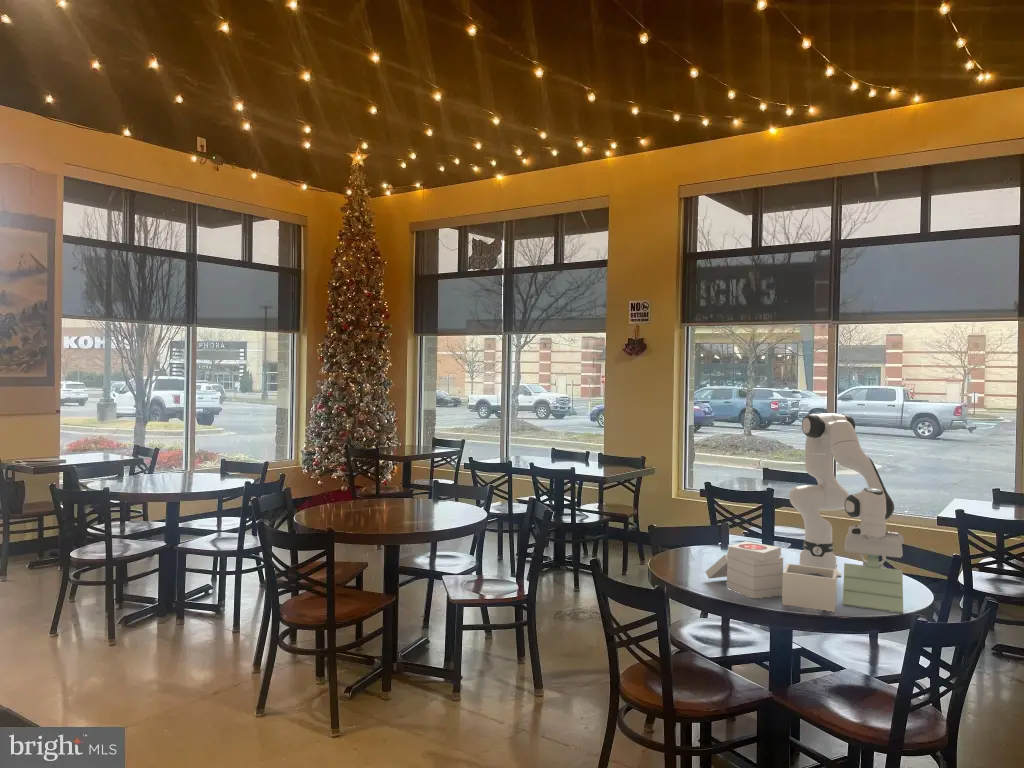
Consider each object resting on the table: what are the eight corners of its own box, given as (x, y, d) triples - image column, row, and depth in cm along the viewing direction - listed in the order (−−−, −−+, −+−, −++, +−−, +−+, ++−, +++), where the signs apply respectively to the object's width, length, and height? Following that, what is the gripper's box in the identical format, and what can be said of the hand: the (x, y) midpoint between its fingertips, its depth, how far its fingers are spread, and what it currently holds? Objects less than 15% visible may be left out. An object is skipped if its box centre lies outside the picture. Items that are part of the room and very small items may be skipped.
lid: (844, 555, 283) (844, 550, 281) (901, 561, 274) (902, 556, 272) (842, 607, 267) (842, 602, 265) (903, 615, 258) (903, 610, 256)
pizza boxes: (736, 577, 303) (737, 535, 304) (790, 596, 276) (791, 550, 276) (700, 581, 296) (701, 538, 296) (752, 601, 268) (753, 553, 268)
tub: (786, 593, 280) (787, 563, 280) (836, 600, 271) (837, 569, 272) (782, 604, 265) (782, 572, 265) (834, 612, 257) (835, 579, 257)
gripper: (903, 531, 272) (903, 568, 272) (844, 526, 282) (844, 561, 281) (904, 534, 267) (903, 571, 266) (844, 529, 276) (843, 564, 276)
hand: (872, 566), depth 274 cm, fingers closed on lid, 4 cm apart
